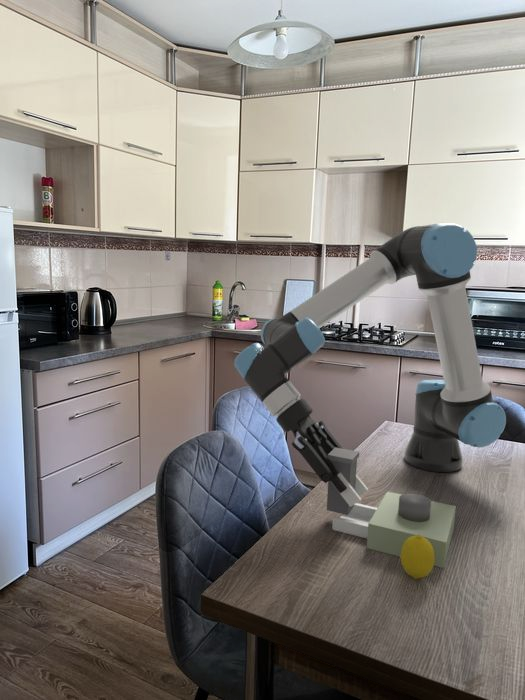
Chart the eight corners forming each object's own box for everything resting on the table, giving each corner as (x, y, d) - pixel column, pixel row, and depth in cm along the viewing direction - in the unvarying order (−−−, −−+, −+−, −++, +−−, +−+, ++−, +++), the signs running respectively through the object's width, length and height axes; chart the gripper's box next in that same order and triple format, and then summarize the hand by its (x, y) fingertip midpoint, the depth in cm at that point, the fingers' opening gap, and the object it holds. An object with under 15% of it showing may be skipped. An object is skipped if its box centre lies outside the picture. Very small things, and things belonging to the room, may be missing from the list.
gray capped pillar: (324, 510, 108) (327, 454, 106) (332, 500, 112) (335, 447, 110) (349, 516, 105) (352, 459, 103) (355, 506, 110) (359, 451, 108)
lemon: (434, 590, 87) (438, 545, 85) (399, 585, 88) (403, 541, 86) (430, 571, 92) (434, 529, 91) (398, 567, 93) (401, 525, 92)
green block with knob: (326, 537, 103) (328, 499, 101) (349, 505, 117) (352, 471, 116) (443, 568, 93) (447, 526, 92) (453, 528, 107) (457, 492, 106)
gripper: (292, 408, 120) (357, 491, 116) (258, 428, 105) (332, 525, 100) (315, 388, 117) (383, 473, 113) (283, 406, 102) (361, 505, 97)
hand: (359, 497), depth 107 cm, fingers closed on gray capped pillar, 4 cm apart
